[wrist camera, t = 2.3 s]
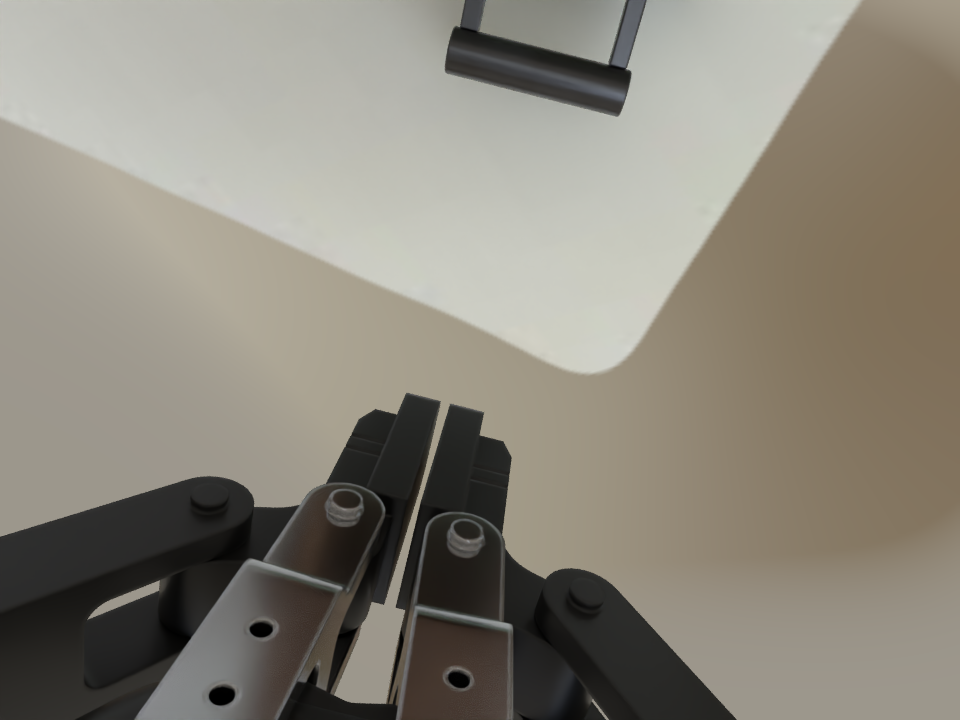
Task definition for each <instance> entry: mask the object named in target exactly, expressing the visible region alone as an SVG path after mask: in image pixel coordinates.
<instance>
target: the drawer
mask: <svg viewBox="0 0 960 720" xmlns="http://www.w3.org/2000/svg"><path fill="white" fill-rule="evenodd" d="M646 1H647V0H626V2H625V6H624V9H623V13H622V16H621V20H620V23H619V27H618V30H617V34H616V37H615V41H614V45H613V48H612V52H611V55H610V59H609V65H607V64H604V63H600V62H596V61H592V60H588V59H584V58H580V57H576V56H572V55H568V54H564V53H560V52H556V51H552V50H548V49H545V48H541V47H537V46H533V45H529V44H525V43H521V42H517V41H513V40H509V39H505V38H501V37H497V36H493V35H490V34H486V33H482V32H478V31H479V30H480V26H481V21H482V16H483V12H484V7H485V2H486V0H465V4H464V9H463V14H462V19H461V24H460V27H458V26H455V27H454V29H453V31H452V34H451V37H450V41H449V45H448V49H447V55H446V62H445V72H446V73H447V74H451V75H455V76H459V77H463V78H467V79H471V80H474V81H478V82H482V83H486V84H490V85H494V86H498V87H502V88H506V89H510V90H514V91H518V92H522V93H526V94H530V95H533V96H537V97H541V98H545V99H549V100H553V101H557V102H561V103H565V104H569V105H573V106H577V107H581V108H585V109H589V110H592V111H596V112H600V113H604V114H608V115H612V116H616V117H618V116H619V115H620V113H621V111H622V108H623V105H624V102H625V99H626V96H627V92H628V89H629V85H630V80H631V74H632V73H631V71H630V70H627V69H626V68H627V66H628V63H629V59H630V56H631V52H632V49H633V46H634V42H635V39H636V35H637V32H638V28H639V25H640V22H641V18H642V15H643V11H644V8H645V5H646Z"/></svg>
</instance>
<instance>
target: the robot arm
mask: <svg viewBox="0 0 960 720" xmlns="http://www.w3.org/2000/svg"><path fill="white" fill-rule="evenodd" d="M440 402H441V401H438V400H433V399H430V398H426V397H422V396H418V395H414V394H410V393H406V395H405V398H404V400H403V402H402V404H401V407H400V409H399V411H398V414H397V415H396V414H392V413H389V412H385V411H381V410H377V409H375V410H373V411H372V412H370V413H368V414H367V415H365V416H363V417H362V418H360V419H359V420H358V422H357V424H356V426H355V428H354V430H353V432H352V435H351V436H350V438H349V440H348V442H347V444H346V447H345V448H344V450H343V452H342V453H341V455H340V458H339V459H338V461H337V463H336V465H335V467H334V469H333V471H332V473H331V475H330V477H329V479H328V481H327V483H326V484H323V485H321V486H318V487H316V488H314V489H312V490H311V491H310V492H309V493H308V494H307V495H306V497H305V498H304V499H303V501H302V503H301V504H300V505H297V506H292V507H284V508H270V507H268V508H267V507H254V499H253V496H252V494H251V493H250V492H249V490H248V489H247V488H245V487H244V486H243V485H241V484H239V483H237V482H235V481H233V480H230V479H226V478H221V477H211V476H208V477H197V478H192V479H188V480H185V481H181V482H178V483H175V484H172V485H168V486H165V487H162V488H158V489H155V490H152V491H149V492H145V493H142V494H139V495H135V496H132V497H129V498H126V499H122V500H119V501H116V502H113V503H109V504H106V505H103V506H99V507H97V508H93V509H90V510H86V511H84V512H80V513H77V514H73V515H70V516H67V517H64V518H61V519H57V520H54V521H50V522H47V523H44V524H41V525H37V526H34V527H31V528H28V529H24V530H21V531H18V532H15V533H11V534H8V535H5V536H1V537H0V720H606V719H605V718H604V717H603V715H602V714H601V713H600V712H599V710H598V709H597V708H596V706H595V705H594V704H593V702H592V699H594V701H595V702H596V703H597V705H598V706H599V707H600V708H601V709H602V711H603V712H604V714H605V715H606V716H607V717H608V719H609V720H736V718H735V717H734V716H733V715H732V714H731V713H730V712H729V711H728V710H727V709H726V708H725V706H724V705H723V704H722V703H721V702H720V701H719V700H718V699H717V698H716V697H715V696H714V695H713V693H711V691H710V690H709V689H708V688H707V687H706V686H705V685H704V684H703V683H702V681H701V680H700V679H699V678H698V677H697V676H696V675H695V674H694V673H693V672H692V671H691V669H690V668H689V667H688V666H687V665H686V664H685V663H684V662H683V661H682V660H681V659H680V658H679V657H678V656H677V655H676V653H675V652H674V651H673V650H672V649H671V648H670V647H669V646H668V644H667V643H666V642H665V641H664V640H663V639H662V638H661V637H660V636H659V635H658V634H657V633H656V631H655V630H654V629H653V628H652V627H651V626H650V625H649V624H648V623H647V622H646V621H645V619H644V618H643V617H642V616H641V615H640V614H639V613H638V612H637V611H636V610H635V609H634V608H633V606H632V605H631V604H630V603H629V602H628V601H627V600H626V599H625V598H624V597H623V596H622V595H621V594H620V592H619V591H618V590H617V589H616V588H615V587H614V586H613V585H612V584H610V583H609V582H608V581H606V580H605V579H603V578H602V577H600V576H598V575H596V574H594V573H591V572H588V571H585V570H581V569H572V568H570V569H561V570H558V571H555V572H553V573H552V574H550V575H549V576H548V577H547V578H546V579H544V578H542V577H540V576H538V575H536V574H534V573H532V572H530V571H529V570H527V569H525V568H524V567H522V566H521V565H519V564H518V563H517V562H516V561H515V560H514V559H513V558H512V557H511V556H510V554H509V553H508V552H507V550H506V549H505V541H504V538H503V536H502V530H503V523H504V514H505V507H506V498H507V490H508V482H509V473H510V465H511V455H510V454H509V452H508V450H507V448H506V446H505V444H504V442H503V441H499V440H496V439H491V438H488V437H484V436H480V435H479V434H480V430H481V425H482V420H483V415H484V412H482V411H477V410H474V409H470V408H466V407H462V406H458V405H454V404H450V406H449V410H448V413H447V416H446V420H445V423H444V426H443V430H442V433H441V436H440V440H439V443H438V446H437V450H436V453H435V456H434V460H433V463H432V466H431V470H430V473H429V477H428V480H427V483H426V487H425V490H424V494H423V497H422V500H421V504H420V508H419V512H418V516H417V521H416V524H415V529H414V533H413V537H412V541H411V545H410V550H409V554H408V558H407V562H406V567H405V571H404V575H403V579H402V583H401V588H400V592H399V596H398V600H397V604H396V608H399V609H403V610H405V614H404V618H403V622H402V627H401V631H400V634H399V638H398V642H397V647H396V652H395V657H394V663H393V668H392V673H391V679H390V684H389V690H388V695H387V701H386V704H365V703H350V702H347V701H344V700H342V699H340V698H338V697H336V696H334V694H335V692H336V689H337V687H338V685H339V682H340V680H341V678H342V675H343V673H344V670H345V668H346V666H347V663H348V661H349V659H350V656H351V654H352V652H353V649H354V647H355V644H356V642H357V640H358V637H359V634H360V630H361V625H362V623H363V621H364V620H365V619H366V617H367V614H368V612H369V608H370V605H371V602H375V603H379V604H383V605H384V603H385V600H386V597H387V594H388V590H389V587H390V584H391V581H392V577H393V574H394V571H395V567H396V564H397V561H398V558H399V555H400V552H401V548H402V545H403V542H404V538H405V535H406V532H407V529H408V525H409V522H410V519H411V516H412V513H413V509H414V506H415V503H416V499H417V497H418V493H419V490H420V486H421V482H422V478H423V475H424V471H425V467H426V463H427V458H428V454H429V450H430V446H431V442H432V437H433V433H434V429H435V425H436V420H437V416H438V412H439V408H440ZM159 580H160V586H159V591H158V592H155V593H153V594H150V595H148V596H145V597H143V598H140V599H138V600H135V601H133V602H131V603H128V604H126V605H123V606H121V607H118V608H116V609H113V610H111V611H108V612H106V613H103V614H101V615H98V616H96V617H93V618H91V619H89V620H87V619H88V618H89V616H90V615H91V614H92V612H93V611H94V610H95V609H97V608H98V607H99V606H100V605H102V604H103V603H105V602H107V601H109V600H111V599H113V598H116V597H118V596H121V595H123V594H126V593H128V592H131V591H134V590H136V589H139V588H141V587H144V586H146V585H149V584H151V583H154V582H156V581H159Z"/></svg>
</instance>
